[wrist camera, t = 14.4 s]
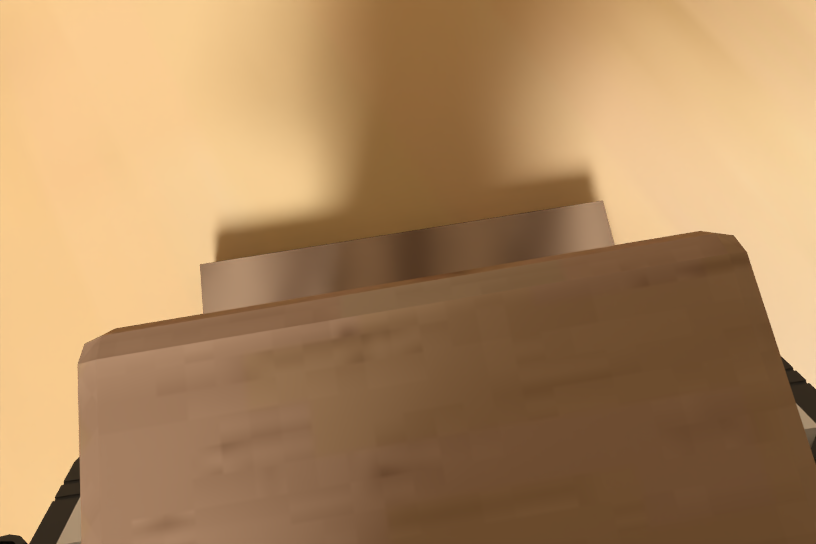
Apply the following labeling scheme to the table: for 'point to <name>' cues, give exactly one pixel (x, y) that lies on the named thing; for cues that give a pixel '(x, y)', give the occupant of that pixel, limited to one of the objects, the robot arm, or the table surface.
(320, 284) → the marked board
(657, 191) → the table surface
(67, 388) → the table surface
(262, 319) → the wooden block
